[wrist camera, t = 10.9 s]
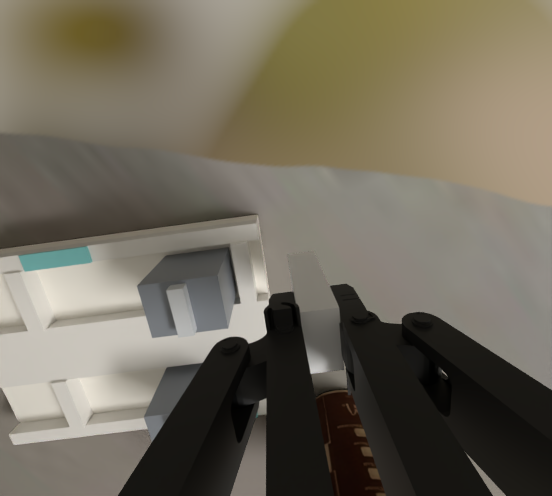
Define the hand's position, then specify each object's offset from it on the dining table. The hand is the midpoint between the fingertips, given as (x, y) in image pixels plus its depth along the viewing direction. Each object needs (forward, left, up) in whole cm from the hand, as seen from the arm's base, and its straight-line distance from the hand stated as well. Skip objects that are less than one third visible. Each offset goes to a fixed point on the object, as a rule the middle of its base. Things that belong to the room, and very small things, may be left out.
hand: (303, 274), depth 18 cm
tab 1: (-6, 0, -2) cm, 7 cm away
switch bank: (-12, -4, -4) cm, 13 cm away
